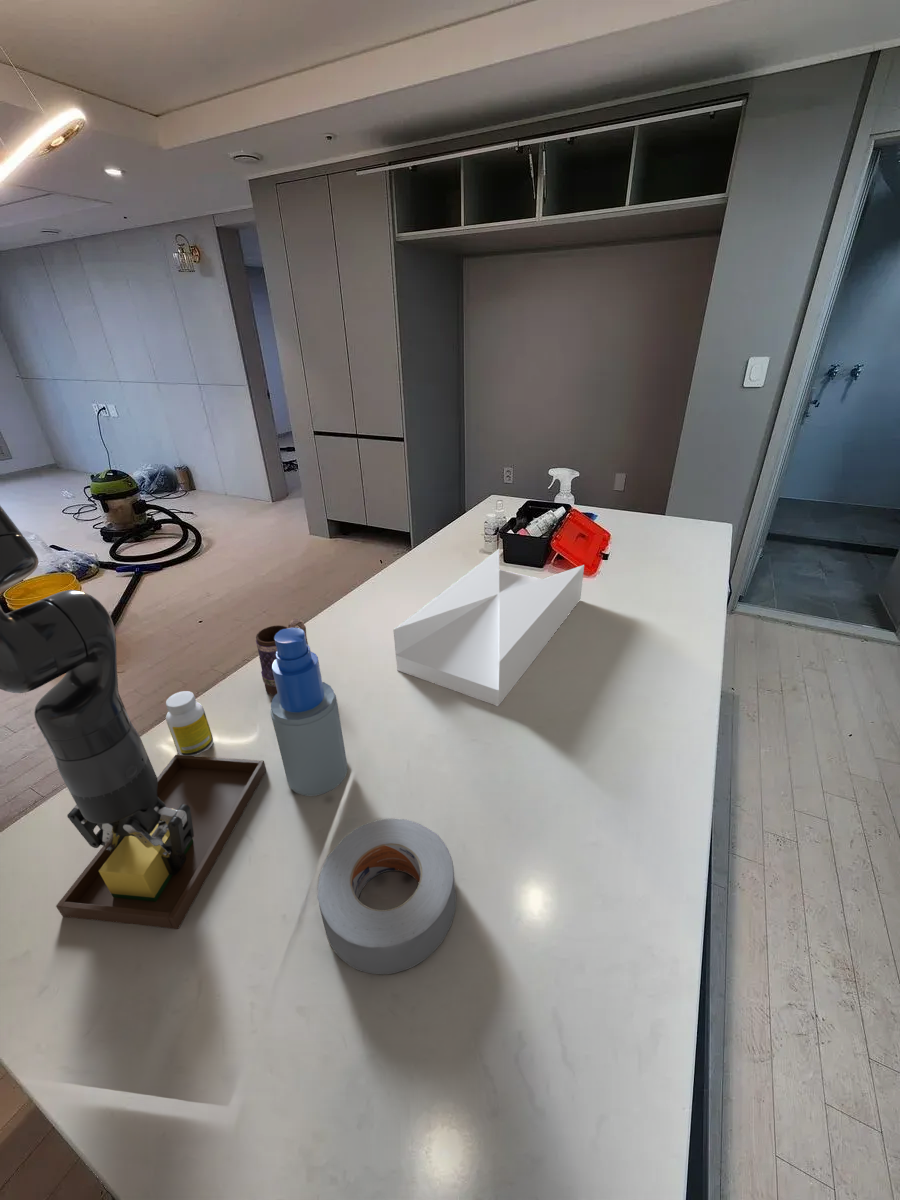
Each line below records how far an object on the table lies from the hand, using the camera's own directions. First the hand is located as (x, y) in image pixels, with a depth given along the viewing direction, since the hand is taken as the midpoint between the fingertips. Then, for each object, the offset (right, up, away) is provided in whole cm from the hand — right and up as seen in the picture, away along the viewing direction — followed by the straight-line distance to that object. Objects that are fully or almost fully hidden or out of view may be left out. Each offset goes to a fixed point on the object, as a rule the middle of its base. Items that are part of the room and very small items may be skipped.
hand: (154, 865), depth 63 cm
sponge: (0, 0, 0) cm, 0 cm away
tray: (+1, +1, +5) cm, 5 cm away
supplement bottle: (-5, +9, +20) cm, 22 cm away
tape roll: (+30, -2, -4) cm, 30 cm away
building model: (+47, +26, +49) cm, 73 cm away
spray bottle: (+17, +6, +14) cm, 23 cm away
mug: (+6, +17, +35) cm, 39 cm away
